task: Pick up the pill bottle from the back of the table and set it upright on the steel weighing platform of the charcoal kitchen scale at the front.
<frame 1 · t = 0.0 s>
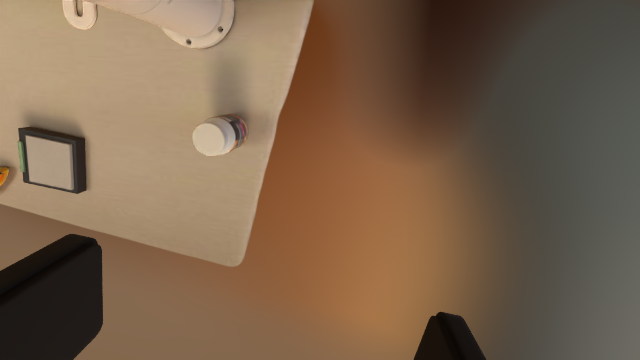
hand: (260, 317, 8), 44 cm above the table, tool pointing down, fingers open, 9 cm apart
chain link: (95, 3, 46), on the table
pill bottle: (232, 130, 51), on the table
scale: (58, 159, 54), on the table
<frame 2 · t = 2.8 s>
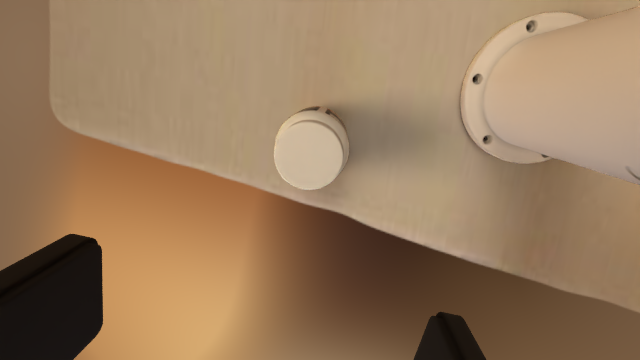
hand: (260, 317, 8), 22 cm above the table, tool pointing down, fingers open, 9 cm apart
pill bottle: (317, 135, 29), on the table
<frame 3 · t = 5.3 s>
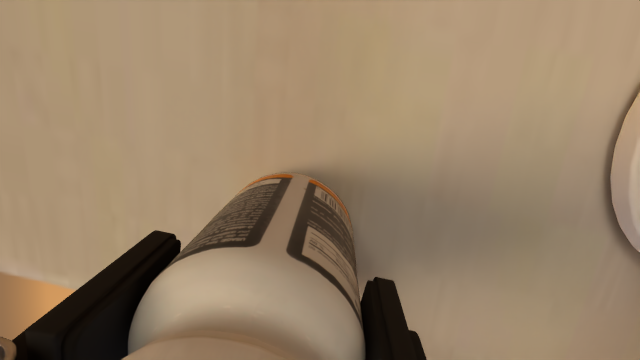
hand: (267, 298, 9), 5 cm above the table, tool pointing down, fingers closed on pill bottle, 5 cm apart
pill bottle: (292, 225, 14), on the table, touching gripper
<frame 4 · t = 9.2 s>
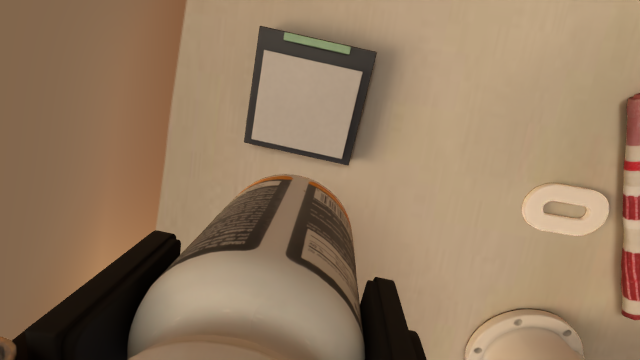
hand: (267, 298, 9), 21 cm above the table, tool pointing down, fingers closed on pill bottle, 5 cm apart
chain link: (554, 233, 30), on the table
pill bottle: (291, 227, 14), point 16 cm above the table, touching gripper
scale: (308, 99, 28), on the table
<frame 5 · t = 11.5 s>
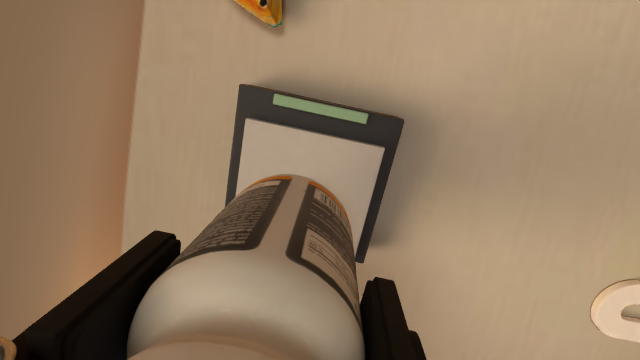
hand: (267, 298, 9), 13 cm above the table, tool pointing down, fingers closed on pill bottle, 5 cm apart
chain link: (633, 341, 23), on the table
pill bottle: (291, 227, 14), point 7 cm above the table, touching gripper
scale: (309, 172, 21), on the table
when the fingers open (8 cm above the table, at t = 13.2 s): pill bottle stays where it is, resting on scale.
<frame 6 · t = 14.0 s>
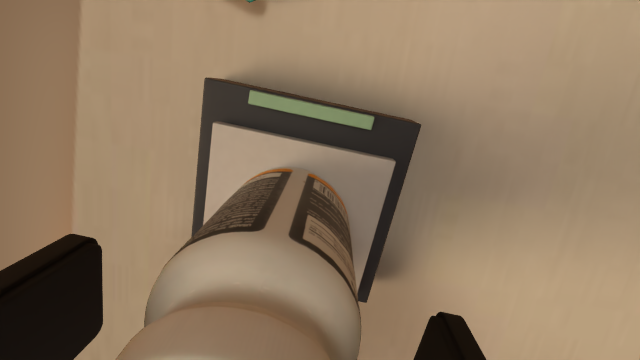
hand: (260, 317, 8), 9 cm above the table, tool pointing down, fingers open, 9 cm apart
pill bottle: (291, 218, 15), point 2 cm above the table, touching scale
scale: (298, 189, 17), on the table
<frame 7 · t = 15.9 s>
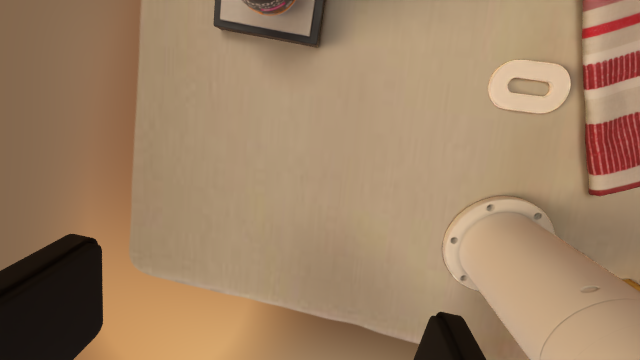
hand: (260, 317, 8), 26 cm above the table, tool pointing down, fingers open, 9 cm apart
chain link: (520, 113, 31), on the table
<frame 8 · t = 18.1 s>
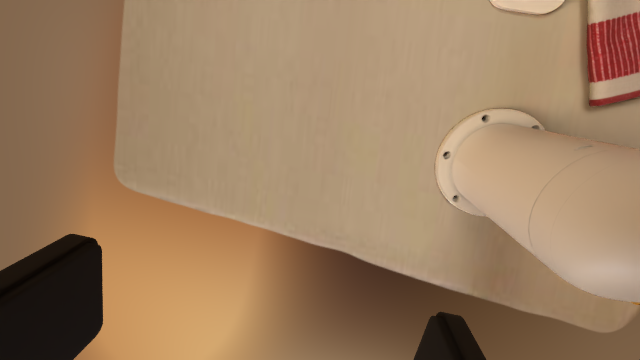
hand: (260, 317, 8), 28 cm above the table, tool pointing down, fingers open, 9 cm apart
chain link: (519, 13, 30), on the table
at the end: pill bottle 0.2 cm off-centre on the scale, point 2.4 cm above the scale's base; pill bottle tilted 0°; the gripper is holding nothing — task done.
